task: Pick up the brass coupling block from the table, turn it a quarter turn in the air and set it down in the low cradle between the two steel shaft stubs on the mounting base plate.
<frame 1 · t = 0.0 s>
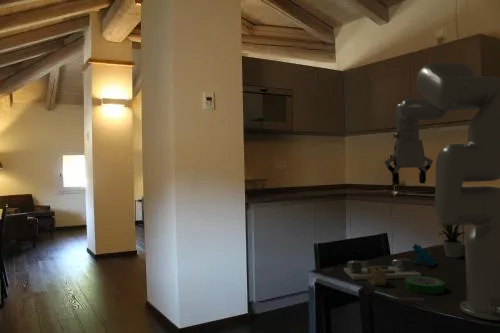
hand: (409, 183, 147), 31 cm above the table, tool pointing down, fingers open, 9 cm apart
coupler: (376, 282, 131), on the table
shaft right: (393, 273, 141), resting on mounting base plate
house plant: (449, 256, 168), on the table
shaft left: (368, 274, 141), resting on mounting base plate
dark teal lobed piece: (424, 265, 154), on the table
mounting base plate: (381, 274, 141), on the table
tape roll: (424, 290, 123), on the table
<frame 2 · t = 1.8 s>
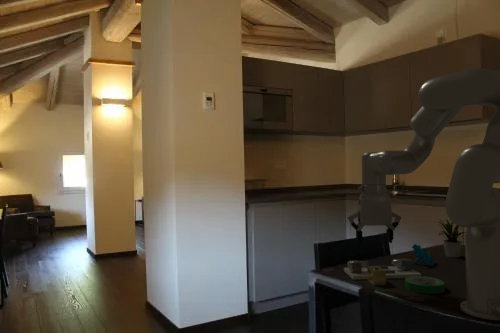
hand: (374, 242, 131), 13 cm above the table, tool pointing down, fingers open, 9 cm apart
nothing on the table moved.
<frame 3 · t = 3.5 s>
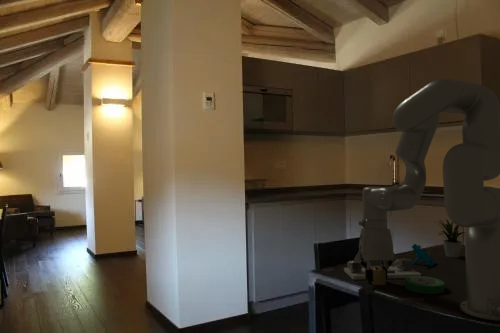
hand: (376, 280, 131), 1 cm above the table, tool pointing down, fingers closed on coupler, 4 cm apart
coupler: (376, 282, 131), on the table, touching gripper
everything else where it was.
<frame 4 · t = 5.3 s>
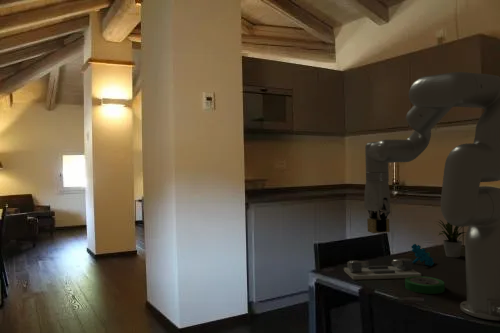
hand: (378, 230, 139), 16 cm above the table, tool pointing down, fingers closed on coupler, 4 cm apart
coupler: (378, 231, 139), point 15 cm above the table, touching gripper
everything else where it was.
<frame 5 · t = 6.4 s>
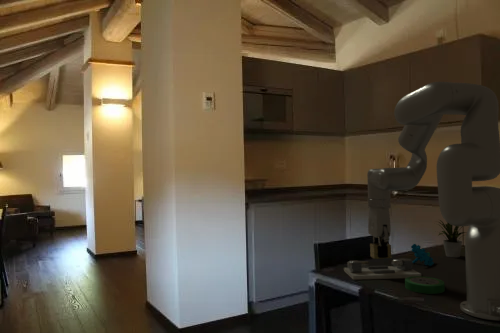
hand: (380, 255, 141), 6 cm above the table, tool pointing down, fingers closed on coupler, 4 cm apart
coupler: (380, 257, 141), point 6 cm above the table, touching gripper
everything else where it was.
when the fingers open (3 cm above the table, at t = 7.4 s): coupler drops 1 cm, resting on mounting base plate.
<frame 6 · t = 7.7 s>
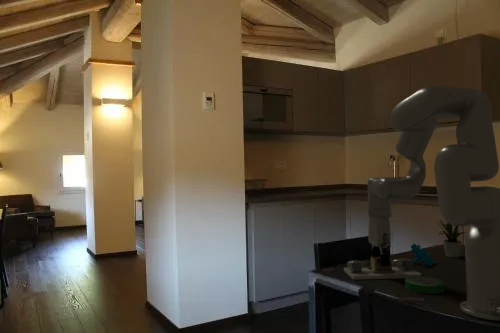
hand: (380, 263, 141), 4 cm above the table, tool pointing down, fingers open, 7 cm apart
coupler: (381, 270, 141), point 1 cm above the table, touching mounting base plate
everything else where it was.
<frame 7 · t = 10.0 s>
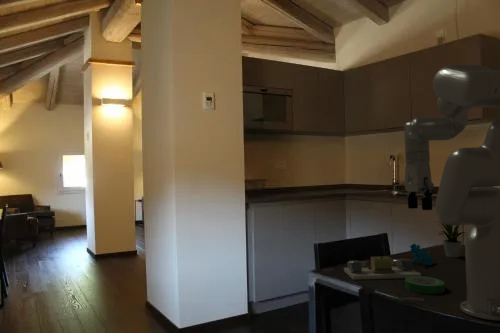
hand: (419, 209, 135), 23 cm above the table, tool pointing down, fingers open, 9 cm apart
nothing on the table moved.
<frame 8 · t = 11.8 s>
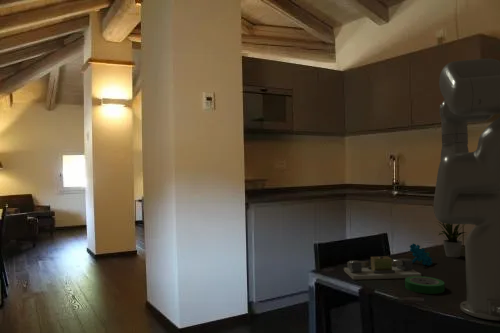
hand: (456, 193, 130), 28 cm above the table, tool pointing down, fingers open, 9 cm apart
at the end: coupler 0.1 cm off-centre on the mounting base plate, point 1.2 cm above the mounting base plate's base; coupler tilted 0°; the gripper is holding nothing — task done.
